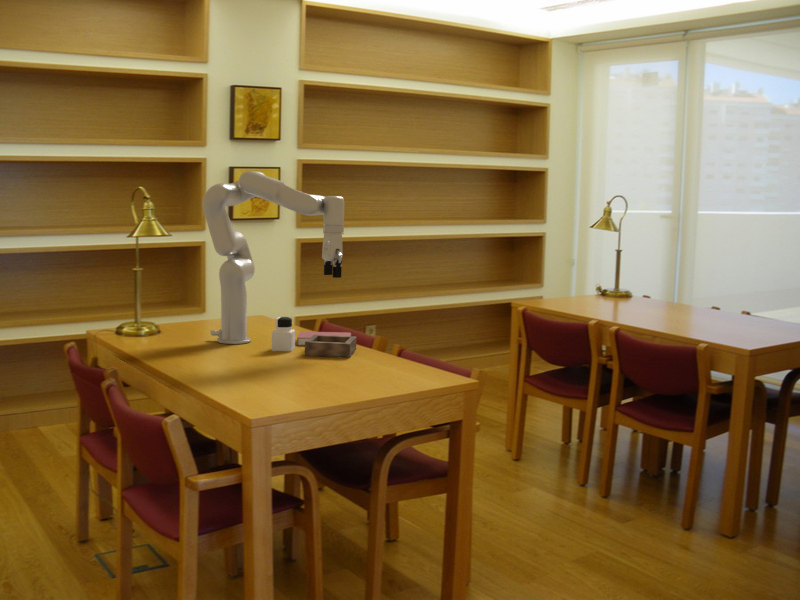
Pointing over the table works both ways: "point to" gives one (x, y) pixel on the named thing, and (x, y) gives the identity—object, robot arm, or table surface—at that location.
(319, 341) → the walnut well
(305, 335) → the pink flat slab
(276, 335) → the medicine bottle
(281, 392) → the table surface
